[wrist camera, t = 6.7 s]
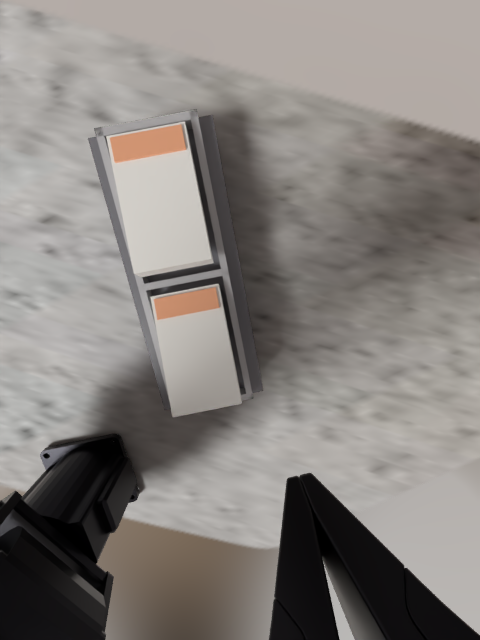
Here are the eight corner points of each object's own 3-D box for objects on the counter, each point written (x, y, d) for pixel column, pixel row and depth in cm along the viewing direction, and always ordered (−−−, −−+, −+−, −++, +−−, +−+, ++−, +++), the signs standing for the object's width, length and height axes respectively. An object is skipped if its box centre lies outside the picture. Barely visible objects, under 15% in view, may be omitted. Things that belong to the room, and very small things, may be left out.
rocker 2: (177, 411, 15) (171, 418, 14) (156, 298, 15) (149, 296, 14) (241, 398, 15) (241, 404, 14) (219, 286, 15) (218, 283, 14)
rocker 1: (141, 277, 13) (132, 273, 12) (116, 149, 13) (104, 134, 12) (213, 263, 13) (211, 258, 12) (188, 136, 13) (184, 119, 12)
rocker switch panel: (174, 389, 20) (161, 417, 16) (112, 161, 16) (78, 129, 13) (258, 372, 20) (265, 397, 16) (215, 142, 16) (211, 104, 13)
